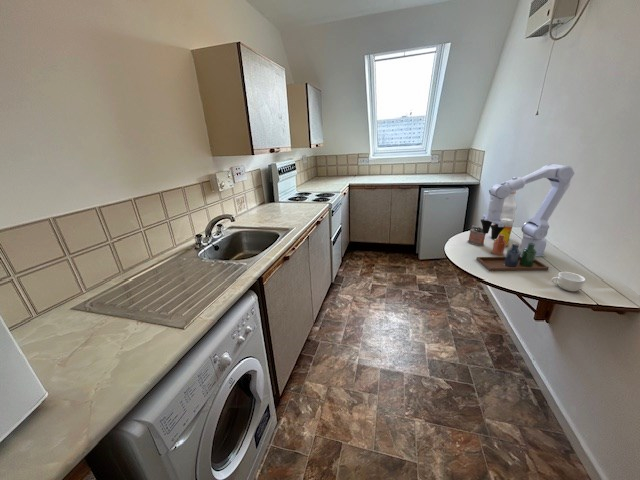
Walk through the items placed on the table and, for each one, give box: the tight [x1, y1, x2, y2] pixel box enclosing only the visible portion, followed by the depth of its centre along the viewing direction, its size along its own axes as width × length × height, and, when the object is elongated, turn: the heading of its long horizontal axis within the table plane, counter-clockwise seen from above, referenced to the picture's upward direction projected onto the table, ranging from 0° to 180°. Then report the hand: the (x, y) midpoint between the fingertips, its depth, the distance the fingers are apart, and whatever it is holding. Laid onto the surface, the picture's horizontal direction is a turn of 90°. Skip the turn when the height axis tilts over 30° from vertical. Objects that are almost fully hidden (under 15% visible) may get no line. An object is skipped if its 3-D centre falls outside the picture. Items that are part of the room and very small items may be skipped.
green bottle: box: [519, 243, 537, 267], centre depth 122 cm, size 5×5×10 cm
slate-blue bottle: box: [504, 242, 521, 267], centre depth 122 cm, size 5×5×10 cm
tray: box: [475, 255, 550, 272], centre depth 124 cm, size 26×12×2 cm, turn 88°
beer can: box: [494, 218, 514, 248], centre depth 143 cm, size 6×6×15 cm
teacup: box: [550, 271, 586, 292], centre depth 105 cm, size 10×8×5 cm
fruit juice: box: [489, 191, 518, 241], centre depth 150 cm, size 9×9×28 cm
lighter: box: [467, 225, 487, 247], centre depth 147 cm, size 8×3×10 cm, turn 40°
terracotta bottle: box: [491, 234, 506, 256], centre depth 134 cm, size 5×5×10 cm
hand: (489, 236), depth 133 cm, fingers open, 7 cm apart
